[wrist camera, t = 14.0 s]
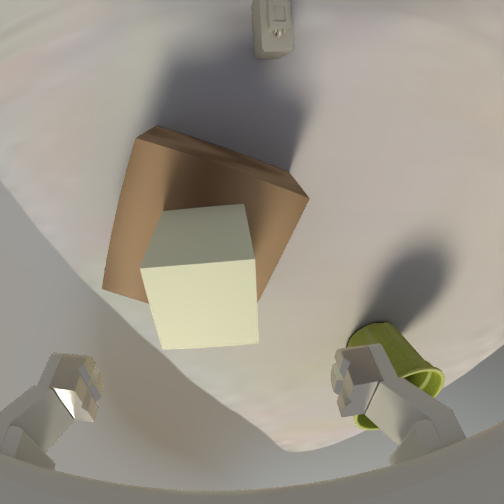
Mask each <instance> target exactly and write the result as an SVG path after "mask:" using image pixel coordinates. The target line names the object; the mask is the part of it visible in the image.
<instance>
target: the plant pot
mask: <svg viewBox="0 0 504 504" xmlns="http://www.w3.org/2000/svg"><path fill="white" fill-rule="evenodd" d="M377 343H380V344H381V345H382V346H383V348H384V350H385V352H386V354H387V356H388V358H389V360H390V362H391V364H392V366H393V368H394V370H395V372H396V374H397V376H398V378H400V377H403V378H404V379H406V380H407V381H409V382H410V383H412V384H413V385H415V386H416V387H418V388H419V389H421V390H422V391H424V392H426V393H427V394H429V395H430V396H432V397H433V398H435V397H436V396H437V395H438V393H439V392H440V390H441V389H442V387H443V384H444V380H445V376H444V374H443V372H442V371H441V370H440V369H438V368H436V367H433V366H432V365H431V364H430V363H429V362H427V361H425V360H424V359H423V358H422V357H421V356H420V355H419V354H418V352H417V351H416V350H415V349H414V348H413V347H412V346H411V345H410V344H409V342H408V341H407V340H406V339H405V338H404V337H403V336H402V334H401V333H400V332H399V331H398V330H397V329H396V328H395V327H394V326H393V325H392V324H391V323H388V322H385V323H372V324H369V325H367V326H365V327H363V328H361V329H360V330H358V331H357V332H356V333H355V334H354V335H353V336H352V337H351V338H350V340H349V343H348V346H347V348H349V347H356V346H363V345H370V344H377ZM354 422H355V424H356V426H357V427H359V428H361V429H366V430H377V429H380V428H379V427H378V426H376V425H375V424H374V423H373V422H372V421H371V420H370V419H369V418H368V417H367V416H366V415H365V414H359V415H354Z"/></svg>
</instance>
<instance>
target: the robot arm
mask: <svg viewBox="0 0 504 504" xmlns="http://www.w3.org/2000/svg"><path fill="white" fill-rule="evenodd" d="M335 359H336V363H335V364H334V365H333V366H332V370H331V383H332V388H333V391H334V392H335V393H336V394H338V395H339V397H338V400H337V404H338V407H339V411H340V414H341V417H347V416H353V415H359V414H365V415H366V416H367V417H368V418H369V419H370V420H371V421H372V422H373V423H374V424H375V425H376V426H378V427H379V428H380V429H381V430H382V431H383V432H384V433H385V434H386V435H388V436H389V437H390V438H391V439H392V440H393V441H394V442H395V443H397V444H398V445H399V446H398V447H397V449H396V450H395V451H394V453H393V454H392V455H391V457H390V458H389V461H390V464H391V466H387V467H384V468H380V469H377V470H372V471H369V472H364V473H360V474H356V475H351V476H347V477H342V478H337V479H332V480H326V481H321V482H314V483H308V484H301V485H293V486H284V487H275V488H265V489H248V490H221V491H220V490H219V491H218V490H216V491H215V490H211V491H210V490H202V491H201V490H177V489H162V488H151V487H141V486H133V485H125V484H118V483H112V482H106V481H100V480H95V479H90V478H85V477H80V476H76V475H72V474H67V473H63V472H59V471H56V470H54V468H55V462H54V461H53V460H52V459H51V458H50V457H49V456H48V455H47V454H46V452H47V451H48V449H49V448H50V447H51V446H52V445H53V444H54V443H55V442H56V441H57V439H58V438H59V437H60V436H61V435H62V434H63V433H64V432H65V431H66V430H67V428H68V427H69V426H70V425H71V424H72V423H73V422H74V420H82V421H91V422H95V419H96V415H97V412H98V408H99V406H98V404H97V402H96V401H97V400H99V399H100V398H101V397H102V392H103V379H102V376H101V373H100V372H99V371H98V370H97V369H96V368H94V366H95V361H94V359H93V357H91V356H85V355H76V354H67V353H57V352H54V353H53V354H51V356H50V358H49V361H48V362H47V365H46V367H45V369H44V371H43V374H42V376H41V378H40V380H39V382H38V385H37V386H33V387H31V388H30V389H29V390H27V391H26V392H25V393H23V394H22V395H21V396H20V397H18V398H17V399H16V400H15V401H13V402H12V403H11V404H10V405H8V406H7V407H6V408H4V409H3V410H2V411H1V412H0V504H504V421H502V422H500V423H498V424H496V425H494V426H492V427H490V428H488V429H486V430H484V431H481V432H479V433H477V434H475V435H473V436H471V437H468V438H466V436H465V434H464V432H463V430H462V428H461V426H460V424H459V422H458V420H457V418H456V416H455V414H454V412H453V410H452V409H450V408H449V407H447V406H446V405H444V404H442V403H441V402H439V401H438V400H436V399H435V398H433V397H432V396H430V395H429V394H427V393H426V392H424V391H422V390H421V389H419V388H418V387H416V386H415V385H413V384H412V383H410V382H409V381H407V380H406V379H404V378H403V377H400V378H398V376H397V374H396V372H395V370H394V368H393V366H392V364H391V362H390V360H389V358H388V356H387V354H386V352H385V350H384V348H383V346H382V345H381V344H380V343H377V344H370V345H363V346H356V347H349V348H342V349H338V350H337V351H336V354H335Z"/></svg>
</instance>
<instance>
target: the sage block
mask: <svg viewBox="0 0 504 504" xmlns="http://www.w3.org/2000/svg"><path fill="white" fill-rule="evenodd" d="M140 271H141V275H142V279H143V283H144V287H145V290H146V294H147V298H148V301H149V305H150V309H151V312H152V315H153V319H154V322H155V326H156V329H157V332H158V335H159V339H160V342H161V345H162V348H163V350H167V349H188V348H205V347H220V346H233V345H244V344H255V343H259V335H258V312H257V290H256V267H255V256H254V251H253V246H252V241H251V236H250V231H249V226H248V221H247V216H246V211H245V206H244V204H234V205H222V206H210V207H199V208H188V209H178V210H168V211H163V212H162V214H161V216H160V219H159V221H158V224H157V226H156V228H155V231H154V233H153V236H152V238H151V241H150V243H149V246H148V248H147V251H146V254H145V256H144V259H143V261H142V264H141V267H140Z"/></svg>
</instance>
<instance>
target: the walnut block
mask: <svg viewBox="0 0 504 504" xmlns="http://www.w3.org/2000/svg"><path fill="white" fill-rule="evenodd" d="M308 201H309V197H308V196H307V195H306V193H305V192H304V191H303V189H302V188H301V187H300V186H299V184H298V183H297V182H296V180H295V179H294V178H293V177H292V175H291V174H290V173H289V172H287V171H285V170H282V169H279V168H277V167H274V166H272V165H269V164H267V163H264V162H261V161H259V160H256V159H253V158H251V157H248V156H245V155H243V154H240V153H237V152H234V151H232V150H229V149H226V148H223V147H220V146H217V145H215V144H212V143H209V142H206V141H203V140H200V139H197V138H194V137H191V136H188V135H185V134H182V133H178V132H175V131H172V130H169V129H166V128H162V127H159V126H155V127H153V128H152V129H150V130H148V131H147V132H145V133H143V134H142V135H140V136H138V137H137V138H136V139H135V143H134V146H133V149H132V153H131V156H130V160H129V163H128V167H127V171H126V174H125V178H124V182H123V186H122V190H121V194H120V198H119V202H118V207H117V211H116V215H115V220H114V225H113V229H112V234H111V239H110V244H109V250H108V255H107V261H106V267H105V273H104V279H103V285H102V289H104V290H107V291H110V292H113V293H116V294H120V295H123V296H126V297H129V298H132V299H136V300H139V301H142V302H146V303H149V301H148V298H147V294H146V290H145V287H144V283H143V279H142V275H141V271H140V267H141V264H142V261H143V259H144V256H145V254H146V251H147V248H148V246H149V243H150V241H151V238H152V236H153V233H154V231H155V228H156V226H157V224H158V221H159V219H160V216H161V214H162V212H163V211H168V210H178V209H188V208H199V207H210V206H222V205H234V204H244V206H245V211H246V216H247V221H248V226H249V231H250V236H251V241H252V246H253V251H254V256H255V267H256V290H257V303H258V301H259V299H260V297H261V295H262V293H263V291H264V289H265V287H266V285H267V283H268V281H269V279H270V277H271V275H272V273H273V271H274V269H275V267H276V265H277V263H278V261H279V259H280V257H281V255H282V253H283V251H284V249H285V247H286V245H287V243H288V241H289V239H290V237H291V235H292V233H293V231H294V229H295V227H296V225H297V223H298V221H299V219H300V217H301V215H302V213H303V211H304V209H305V207H306V205H307V203H308Z"/></svg>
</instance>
